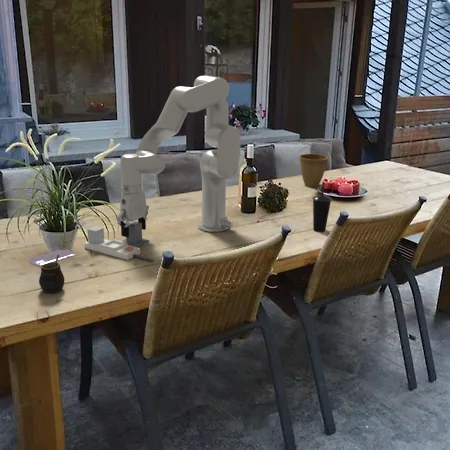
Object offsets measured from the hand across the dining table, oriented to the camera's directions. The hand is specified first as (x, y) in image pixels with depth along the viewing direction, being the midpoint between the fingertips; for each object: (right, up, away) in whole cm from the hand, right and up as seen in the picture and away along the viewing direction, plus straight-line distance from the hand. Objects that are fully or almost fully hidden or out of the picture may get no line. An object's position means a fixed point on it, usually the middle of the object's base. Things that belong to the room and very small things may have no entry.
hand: (133, 232), depth 193 cm
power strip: (-3, -7, -9) cm, 12 cm away
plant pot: (+81, +24, +86) cm, 121 cm away
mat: (0, -4, +1) cm, 4 cm away
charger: (0, -3, +1) cm, 3 cm away
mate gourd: (-18, -17, -37) cm, 44 cm away
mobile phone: (-26, -9, -14) cm, 31 cm away
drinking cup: (+73, +1, +19) cm, 75 cm away
